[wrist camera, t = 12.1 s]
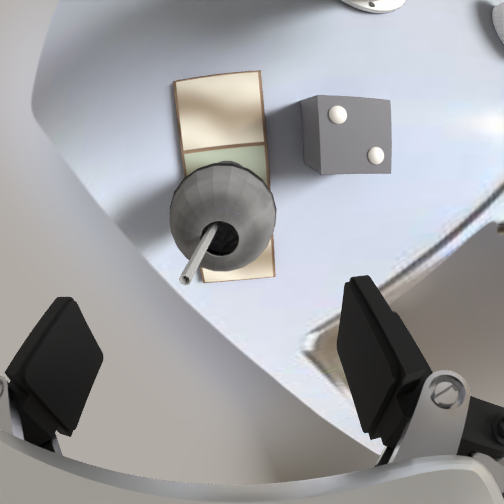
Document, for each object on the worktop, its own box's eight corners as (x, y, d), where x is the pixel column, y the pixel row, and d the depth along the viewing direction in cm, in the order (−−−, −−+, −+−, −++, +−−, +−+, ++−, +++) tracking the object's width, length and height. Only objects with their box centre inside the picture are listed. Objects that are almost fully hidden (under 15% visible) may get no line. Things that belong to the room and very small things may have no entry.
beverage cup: (254, 218, 31) (278, 355, 13) (189, 208, 30) (131, 334, 12) (268, 154, 28) (327, 216, 10) (199, 142, 27) (130, 182, 9)
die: (300, 100, 26) (317, 95, 20) (360, 102, 26) (390, 100, 20) (304, 163, 30) (321, 175, 23) (362, 161, 30) (391, 173, 23)
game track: (175, 82, 25) (173, 80, 24) (260, 71, 25) (260, 70, 24) (203, 279, 36) (202, 283, 35) (274, 273, 36) (275, 277, 35)
